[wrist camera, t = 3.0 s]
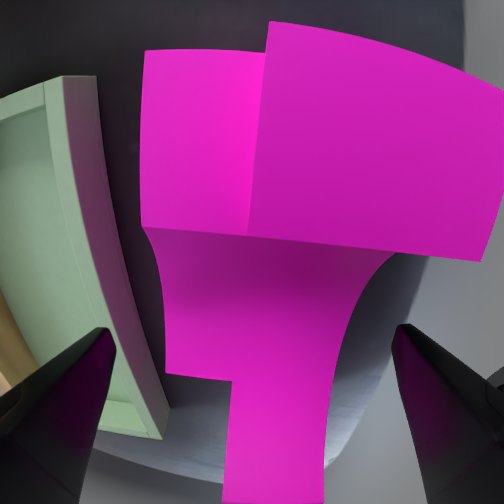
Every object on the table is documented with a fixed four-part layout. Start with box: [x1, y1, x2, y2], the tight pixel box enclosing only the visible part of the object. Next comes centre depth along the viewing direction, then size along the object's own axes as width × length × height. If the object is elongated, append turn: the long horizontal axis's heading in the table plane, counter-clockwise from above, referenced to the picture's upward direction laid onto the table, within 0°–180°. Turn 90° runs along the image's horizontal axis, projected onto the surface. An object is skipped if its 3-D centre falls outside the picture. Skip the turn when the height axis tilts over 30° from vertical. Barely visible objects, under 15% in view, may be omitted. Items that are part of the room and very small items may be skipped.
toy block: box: [140, 21, 504, 504], centre depth 10 cm, size 15×6×8 cm, turn 174°
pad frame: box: [0, 76, 170, 440], centre depth 13 cm, size 15×18×2 cm
